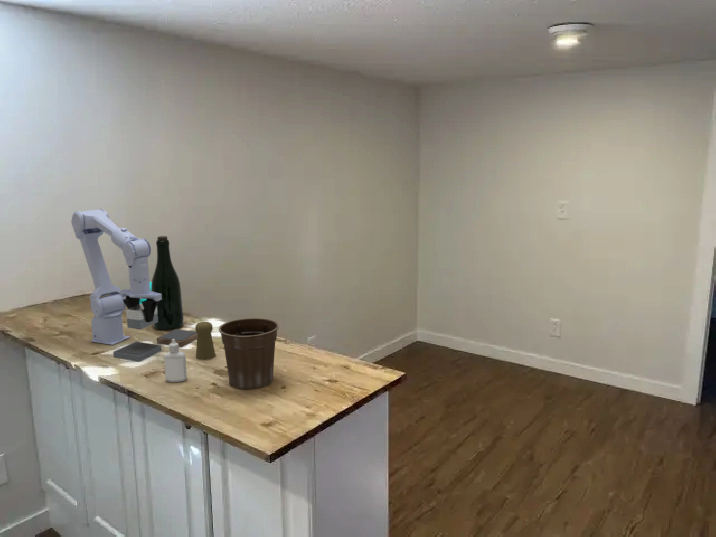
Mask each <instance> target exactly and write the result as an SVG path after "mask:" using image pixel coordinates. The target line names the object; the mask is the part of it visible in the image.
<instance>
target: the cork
mask: <svg viewBox="0 0 716 537" xmlns="http://www.w3.org/2000/svg"><path fill="white" fill-rule="evenodd" d="M213 327H214V326H213V324H212V323H211V322H209V321H199V322H197V323H196V324H195V327H194V330H195V331H194V332H196V333H197V340H196V347H195V348H196V349H195V359H196V360H199V361H207V359H208V360H211V359H214V358H215V357H216V351H215V346H214V341H213V336H212V332H213Z"/></svg>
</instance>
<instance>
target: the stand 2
mask: <svg viewBox="0 0 716 537" xmlns="http://www.w3.org/2000/svg"><path fill="white" fill-rule="evenodd" d="M172 339H175V342H176V343H178V345H179V348H183V347H185V346H187V345H189V344H191V343H192V342H194V341H197V333H196V331H193V330H187V329H186V330H185V329H179V328H176V329H172V330H171V331H169V332H167V333H164V334H162V335H160V336H158V337H156V344H158V345H160V344H161V345H166V346H167V345H168V346H169V344H171V343H172Z"/></svg>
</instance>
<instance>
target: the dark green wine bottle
mask: <svg viewBox="0 0 716 537" xmlns="http://www.w3.org/2000/svg"><path fill="white" fill-rule="evenodd" d="M155 245H156V264H155V270H154V272H153V276H152V279H151V282H152V283H151V291H153V292H156V293H160V294H161V295H162V300H160V301H159V302H158V304H157V314H158V322H157V323H155V324H152V325H153V328H154V329H156V330H160V331H169V330H171V331H172V330H175V329H179V328H181V327H183V325H184V324H185V322H184V308H183V297H182V287H181V281H180V277H179V276H178V273H177V271H176V269H175V267H174V265H173V262H172V259H171V250H170V240H169V239H168V236H167V235H161V236H159V235H158V236H157V239H156V243H155Z"/></svg>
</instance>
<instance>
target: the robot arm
mask: <svg viewBox="0 0 716 537" xmlns="http://www.w3.org/2000/svg"><path fill="white" fill-rule="evenodd" d="M70 223H71V226H72V228H73V233H74V235H75V238H76V239H78V240H79V241H80V244H81V247H82V251H83V254H84V257H85V260H86V264H87V266H88V269H89V272H90V275H91V279H92V281H93V285H94V288H95V289H94V290H93V291H92V292H91V294H90V296H89V301H90V310H91V311H92V314H93V317H92V319H91V322H90V325H91V331H92V334H91V335H92V339H91V340H90V341H92V343H99V344H105V345H111V346H114V345H116V344H118V343H121V342H123V341H126V340H128V339H130V336H129V335H125V334H124V325H123V315H122V314H124V311H126V309H128V308H130V307H133V306H136V305H139V302H140V299H146V300H145V301H142V305H143V307H144V310H145V315H146V321H147V322H151V321H153V317H154V312H155V309H156V306H157V304H158V302H159V301H160V300H162V295H161V294H160V293H156V292H153V291H150V283H149V282H150V274H149V273H150V271H149V260H148V257H150V255H151V253H152V247H151V244H150V243H149V241H148V240H147V239H146V238H138V237H137V236H136V235H134V234H133V233H131V232H130V231H129V230H128V228H126V227H118V226H117V224H115V223H114V222H113V221H112V220H111V219H110V215H109V212H107V211H106V210H105V209H103V208H99V209H91V210H82V211H79V210H77V211H74V212H73V213H72V216H71V220H70ZM104 233H105V234H107V235H108V236H110V240H111V242H112V243H113V244H114V245H115V246H116V247H117V248H119V249H121V251H122V254H123V256H124V260H125V263H126V265H127V266H128V278H129V287H130V289H126V288H125V289H121V288H120V287H119V286H116V285H114V284H113V283H112V280H111V278H110V274H109V271H108V268H107V265H106V261H105V258H104V256H103V252H102V250H101V247H100V246H101V245H100V243H99V238H100V237H101V236H103V234H104Z"/></svg>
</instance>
